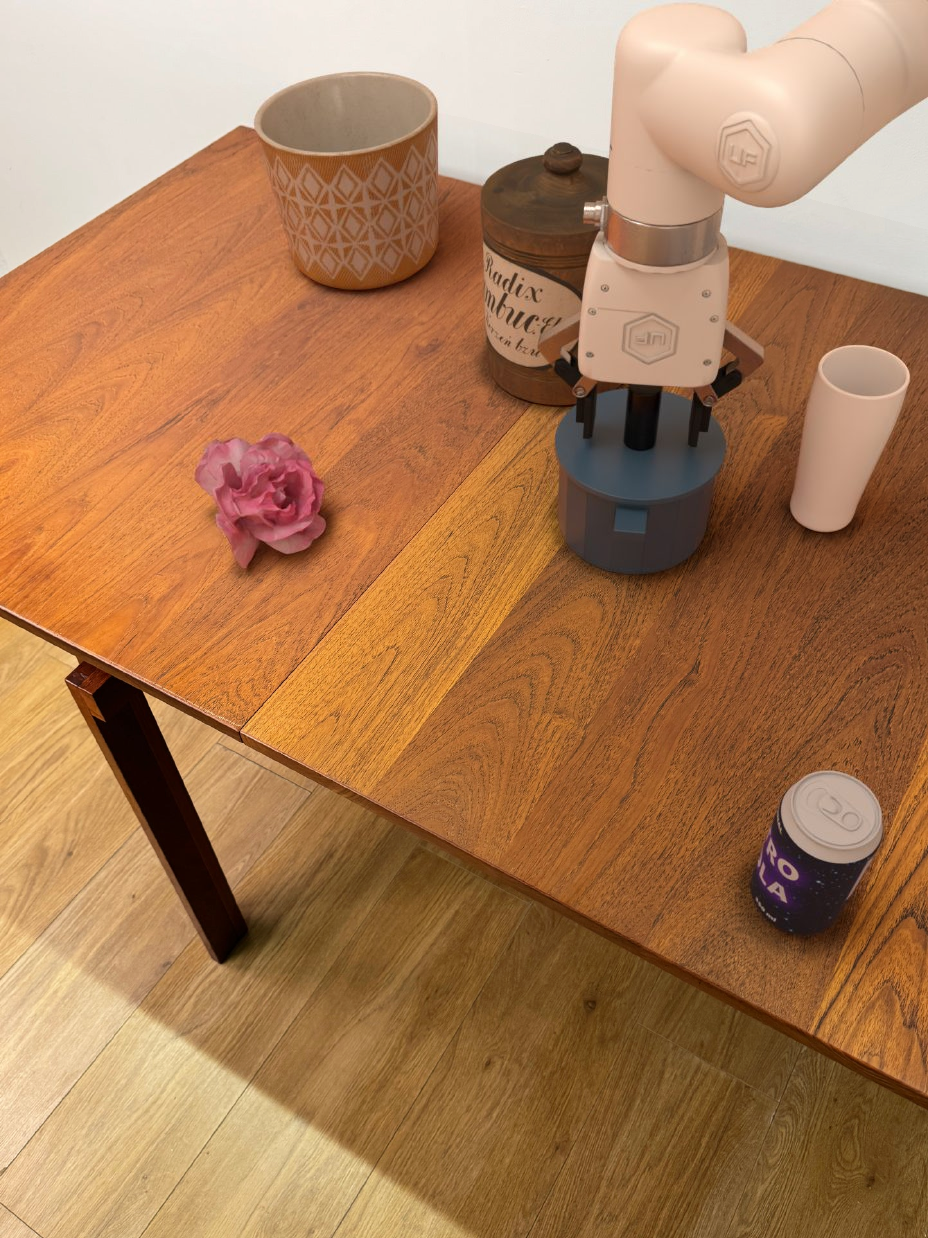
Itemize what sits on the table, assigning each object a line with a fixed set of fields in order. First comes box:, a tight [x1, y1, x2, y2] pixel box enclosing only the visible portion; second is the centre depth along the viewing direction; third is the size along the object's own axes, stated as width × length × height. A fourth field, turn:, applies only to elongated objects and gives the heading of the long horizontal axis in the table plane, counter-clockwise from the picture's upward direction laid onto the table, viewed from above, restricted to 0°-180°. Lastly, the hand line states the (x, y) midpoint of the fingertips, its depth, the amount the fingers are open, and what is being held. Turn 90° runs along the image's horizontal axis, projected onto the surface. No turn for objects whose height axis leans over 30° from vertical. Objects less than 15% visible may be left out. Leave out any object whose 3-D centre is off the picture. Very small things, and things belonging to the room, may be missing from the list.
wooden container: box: [479, 141, 623, 406], centre depth 93 cm, size 15×15×22 cm
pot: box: [557, 464, 717, 576], centre depth 84 cm, size 13×18×8 cm
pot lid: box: [554, 384, 727, 505], centre depth 78 cm, size 14×14×7 cm
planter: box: [253, 71, 440, 291], centre depth 111 cm, size 19×19×16 cm
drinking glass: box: [789, 344, 911, 533], centre depth 80 cm, size 7×7×15 cm
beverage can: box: [750, 770, 884, 936], centre depth 60 cm, size 6×6×12 cm
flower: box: [194, 432, 327, 569], centre depth 86 cm, size 11×10×10 cm
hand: (640, 430), depth 79 cm, fingers open, 7 cm apart
